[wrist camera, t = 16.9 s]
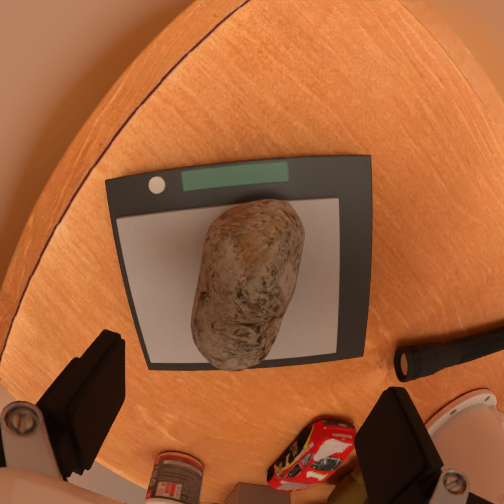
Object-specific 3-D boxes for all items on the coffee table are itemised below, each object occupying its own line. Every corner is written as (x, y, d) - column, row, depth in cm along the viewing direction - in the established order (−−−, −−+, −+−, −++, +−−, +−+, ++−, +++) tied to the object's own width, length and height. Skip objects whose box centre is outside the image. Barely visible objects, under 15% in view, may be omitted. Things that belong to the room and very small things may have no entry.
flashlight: (397, 340, 23) (411, 361, 20) (521, 311, 22) (537, 324, 20) (391, 368, 24) (403, 389, 21) (513, 335, 23) (528, 349, 20)
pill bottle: (150, 447, 28) (130, 517, 18) (200, 452, 28) (188, 527, 18) (163, 472, 30) (148, 535, 20) (207, 476, 30) (199, 543, 20)
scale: (357, 154, 19) (375, 155, 16) (354, 338, 23) (365, 361, 20) (120, 176, 19) (99, 181, 16) (156, 351, 24) (146, 375, 21)
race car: (299, 480, 30) (301, 506, 26) (259, 474, 29) (259, 501, 25) (362, 419, 26) (372, 448, 22) (317, 410, 25) (324, 442, 22)
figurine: (315, 514, 24) (358, 535, 21) (356, 464, 25) (401, 486, 22) (329, 492, 31) (365, 510, 28) (362, 449, 32) (400, 467, 29)
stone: (224, 180, 16) (313, 203, 17) (194, 325, 19) (269, 343, 19) (204, 194, 10) (342, 230, 11) (170, 390, 13) (272, 412, 13)
